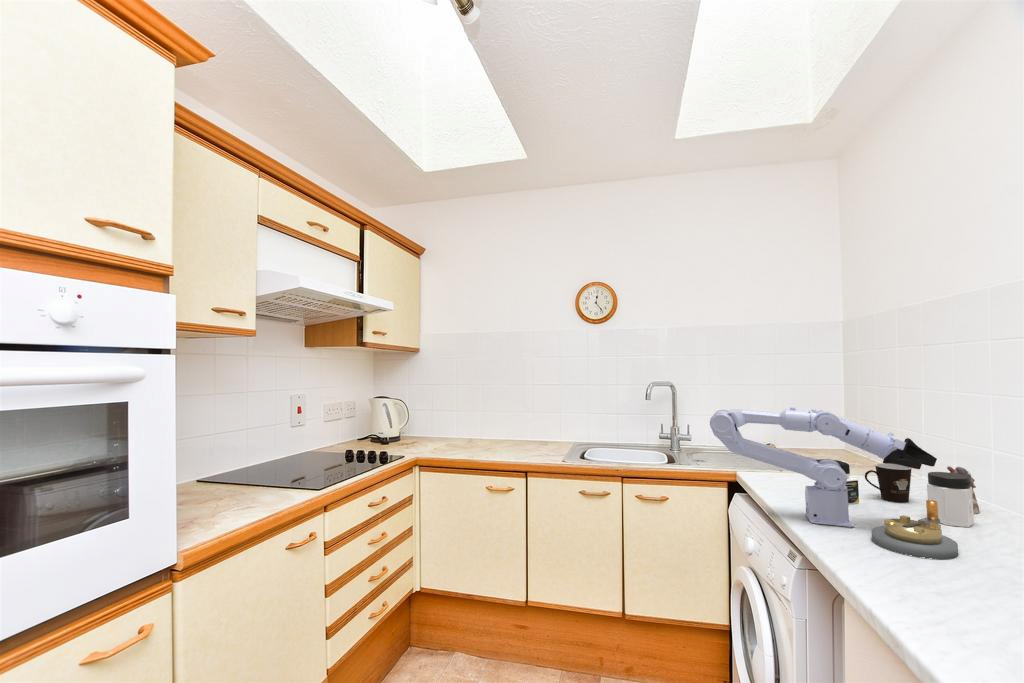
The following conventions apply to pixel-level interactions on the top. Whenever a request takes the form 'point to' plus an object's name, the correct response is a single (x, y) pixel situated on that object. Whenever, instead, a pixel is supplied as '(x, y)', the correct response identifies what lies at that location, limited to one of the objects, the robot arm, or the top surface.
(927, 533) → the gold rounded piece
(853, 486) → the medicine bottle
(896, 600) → the top surface
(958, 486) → the jar
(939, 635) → the top surface
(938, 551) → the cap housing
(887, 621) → the top surface
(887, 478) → the coffee mug
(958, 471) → the figurine
